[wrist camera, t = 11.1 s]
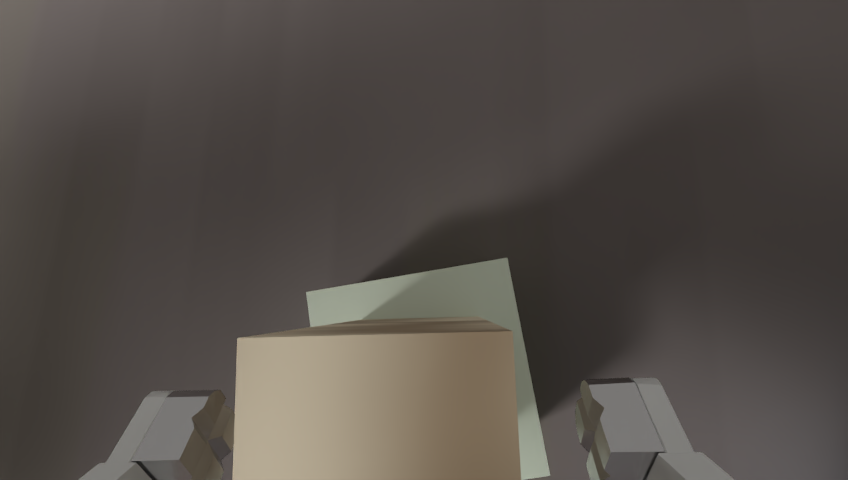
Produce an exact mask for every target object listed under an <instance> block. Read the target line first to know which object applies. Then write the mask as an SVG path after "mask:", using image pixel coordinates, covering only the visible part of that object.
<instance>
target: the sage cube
mask: <svg viewBox="0 0 848 480" xmlns="http://www.w3.org/2000/svg"><path fill="white" fill-rule="evenodd" d="M306 295H307V303H308V311H309V319H310V327H315V326H322V325H328V324H335V323H342V322H349V321H355V320H364V319H400V318H437V317H474V316H478V317H481V318H483V319H485V320H488V321H490V322H492V323H495V324H497V325H499V326H502V327H504V328H506V329H509V330H511V331H513V345H514V363H515V380H516V398H517V415H518V433H519V450H520V468H521V480H525V479H531V478H538V477H545V476H550V472H549V467H548V462H547V457H546V452H545V447H544V442H543V437H542V432H541V427H540V421H539V416H538V411H537V406H536V401H535V396H534V391H533V386H532V381H531V376H530V371H529V366H528V360H527V355H526V350H525V345H524V340H523V335H522V330H521V325H520V320H519V315H518V310H517V305H516V299H515V294H514V289H513V284H512V279H511V274H510V269H509V264H508V259H507V258H502V259H496V260H490V261H485V262H479V263H473V264H467V265H461V266H455V267H450V268H444V269H438V270H432V271H426V272H420V273H415V274H409V275H403V276H397V277H391V278H385V279H380V280H374V281H368V282H362V283H356V284H351V285H345V286H339V287H333V288H327V289H321V290H316V291H310V292H306Z"/></svg>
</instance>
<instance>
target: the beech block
mask: <svg viewBox="0 0 848 480" xmlns="http://www.w3.org/2000/svg"><path fill="white" fill-rule="evenodd" d="M233 480H521V468H520V450H519V433H518V415H517V398H516V380H515V363H514V345H513V331H511V330H509V329H506V328H504V327H502V326H499V325H497V324H495V323H492V322H490V321H488V320H485V319H483V318H481V317H478V316H474V317H437V318H400V319H364V320H355V321H349V322H342V323H335V324H328V325H322V326H315V327H308V328H302V329H295V330H288V331H282V332H275V333H268V334H261V335H255V336H248V337H241V338H237V362H236V392H235V422H234V452H233Z"/></svg>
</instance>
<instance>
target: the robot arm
mask: <svg viewBox="0 0 848 480" xmlns="http://www.w3.org/2000/svg"><path fill="white" fill-rule="evenodd" d="M580 392H581V395H582V398H581V399H579V400H578V401H577V404H576V410H575V416H576V427H577V432H578V436H579V440H580V444H581V445H582V446H583V447H584V448H585V449H586V450H587V451H588V452H589V456H588V460H587V464H586V466H587V469H588V473H589V476H590V480H735V479H733V478H732V477H731V476H730V475H729V474H727V473H726V472H725V471H724V470H723V469H721V468H720V467H719V466H718V465H717V464H715V463H714V462H713V461H712V460H711V459H709V458H708V457H707V456H706V455H705V454H704V453H702V452H694V450H693V448H692V446H691V444H690V442H689V440H688V438H687V436H686V434H685V432H684V430H683V428H682V426H681V424H680V422H679V420H678V417H677V415H676V413H675V411H674V409H673V407H672V405H671V403H670V401H669V399H668V397H667V395H666V393H665V391H664V389H663V387H662V385H661V383H660V382H659V381H658V380H657V379H656V378H653V377H648V378H608V379H586V380H583V381H582V382H581V386H580ZM225 399H226V398H225V396H224V395H223V393H222V392H221V390H193V391H176V390H175V391H152V392H151V393H150V394H149V395H147V396H146V397H145V398H144V400H143V401H142V403H141V405H140V406H139V408H138V410H137V411H136V413H135V415H134V416H133V418H132V420H131V421H130V423H129V425H128V426H127V428H126V430H125V431H124V433H123V435H122V436H121V438H120V440H119V441H118V443H117V445H116V446H115V448H114V450H113V451H112V453H111V455H110V456H109V458H108V460H107V461H106V463H98V464H97V465H96V466H95V467H94V468H92V469H91V470H90V471H89V472H87V473H86V474H85V475H84V476H82V477H81V478H80V479H79V480H221V477H222V474H223V472H224V469H223V466H222V463H221V460H222V459H223V458H224V457H225V456H227V455H228V454H229V453H230V452H231V450H232V448H233V445H234V422H235V414H234V412H233V410H232V409H230V408H228V407H227V406H225V405H223V404H224V402H225Z"/></svg>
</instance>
